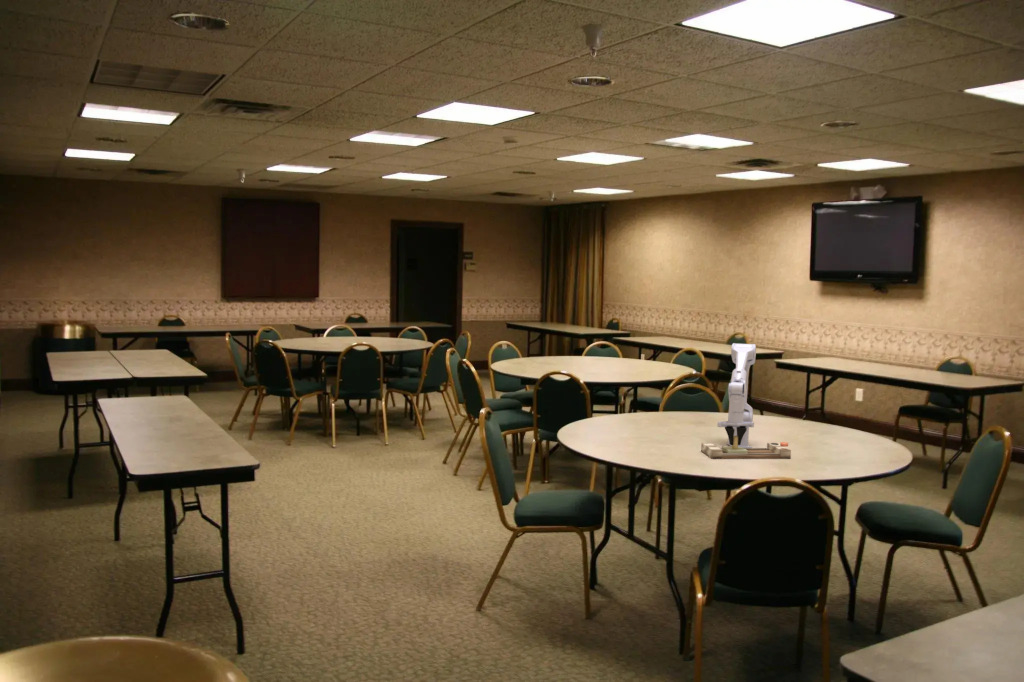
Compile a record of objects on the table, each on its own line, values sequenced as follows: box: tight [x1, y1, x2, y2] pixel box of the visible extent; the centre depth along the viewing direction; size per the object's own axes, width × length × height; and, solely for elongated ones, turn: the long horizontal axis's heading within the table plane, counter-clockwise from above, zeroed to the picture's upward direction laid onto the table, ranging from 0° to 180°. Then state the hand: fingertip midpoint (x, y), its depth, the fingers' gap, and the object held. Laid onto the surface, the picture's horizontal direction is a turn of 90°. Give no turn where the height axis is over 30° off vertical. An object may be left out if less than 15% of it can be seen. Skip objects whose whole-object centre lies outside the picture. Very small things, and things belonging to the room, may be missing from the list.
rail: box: [700, 442, 792, 460], centre depth 322 cm, size 14×32×4 cm, turn 95°
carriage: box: [721, 436, 748, 453], centre depth 321 cm, size 7×8×6 cm
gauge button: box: [779, 441, 789, 448], centre depth 318 cm, size 3×3×1 cm
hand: (734, 444), depth 321 cm, fingers closed on carriage, 2 cm apart
